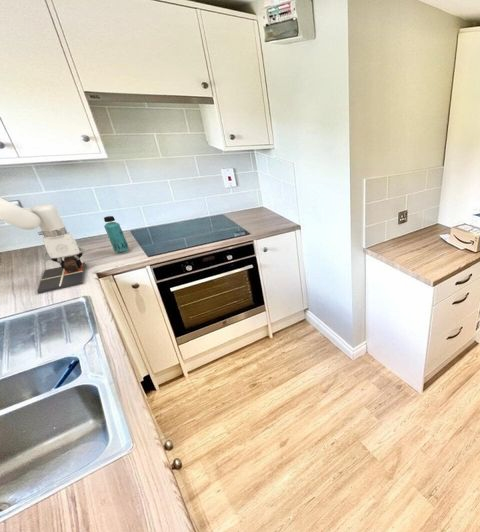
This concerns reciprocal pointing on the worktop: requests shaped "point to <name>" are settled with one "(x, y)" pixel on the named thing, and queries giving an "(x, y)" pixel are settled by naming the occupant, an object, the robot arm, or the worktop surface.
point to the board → (60, 279)
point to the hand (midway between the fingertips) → (73, 267)
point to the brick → (70, 264)
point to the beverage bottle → (115, 235)
